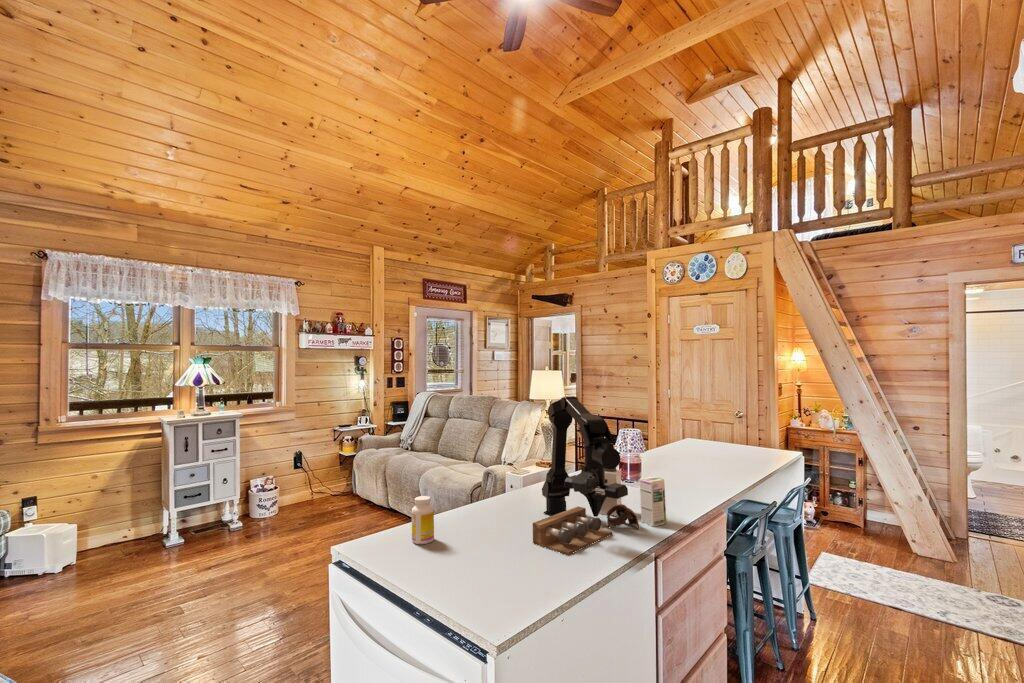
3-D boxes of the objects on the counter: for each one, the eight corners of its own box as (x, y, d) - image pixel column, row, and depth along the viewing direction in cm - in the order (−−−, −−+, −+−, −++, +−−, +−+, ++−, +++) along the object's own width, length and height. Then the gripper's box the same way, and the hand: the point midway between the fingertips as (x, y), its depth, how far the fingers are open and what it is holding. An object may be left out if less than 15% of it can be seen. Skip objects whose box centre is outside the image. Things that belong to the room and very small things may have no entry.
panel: (533, 543, 140) (532, 522, 140) (578, 524, 155) (578, 506, 156) (567, 555, 131) (567, 533, 131) (612, 534, 146) (611, 514, 146)
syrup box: (653, 527, 152) (652, 481, 153) (640, 522, 157) (639, 477, 158) (666, 524, 154) (665, 479, 155) (653, 519, 160) (652, 475, 160)
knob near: (543, 538, 140) (543, 524, 140) (552, 534, 142) (552, 521, 142) (564, 545, 134) (564, 531, 134) (573, 541, 137) (572, 527, 137)
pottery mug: (644, 534, 147) (632, 513, 146) (616, 546, 149) (604, 525, 147) (636, 512, 159) (625, 492, 158) (611, 524, 160) (600, 504, 159)
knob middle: (559, 532, 144) (558, 519, 145) (567, 528, 147) (566, 516, 147) (579, 538, 139) (579, 525, 139) (587, 535, 142) (587, 522, 142)
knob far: (573, 526, 149) (573, 513, 150) (580, 523, 152) (580, 511, 152) (594, 532, 144) (593, 519, 144) (601, 529, 146) (600, 516, 147)
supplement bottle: (438, 538, 146) (437, 495, 146) (427, 546, 139) (427, 501, 140) (418, 535, 148) (418, 494, 148) (407, 543, 141) (407, 500, 142)
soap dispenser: (623, 509, 171) (621, 447, 172) (617, 516, 163) (615, 452, 164) (605, 507, 174) (603, 446, 175) (599, 514, 166) (597, 450, 167)
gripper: (552, 462, 139) (553, 515, 138) (605, 471, 126) (607, 531, 125) (575, 456, 147) (576, 507, 146) (628, 464, 134) (629, 520, 133)
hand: (595, 516), depth 137 cm, fingers closed
